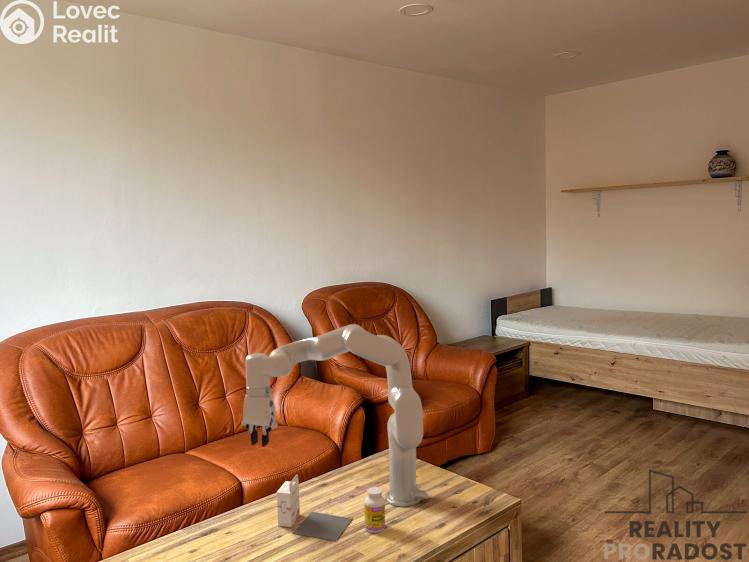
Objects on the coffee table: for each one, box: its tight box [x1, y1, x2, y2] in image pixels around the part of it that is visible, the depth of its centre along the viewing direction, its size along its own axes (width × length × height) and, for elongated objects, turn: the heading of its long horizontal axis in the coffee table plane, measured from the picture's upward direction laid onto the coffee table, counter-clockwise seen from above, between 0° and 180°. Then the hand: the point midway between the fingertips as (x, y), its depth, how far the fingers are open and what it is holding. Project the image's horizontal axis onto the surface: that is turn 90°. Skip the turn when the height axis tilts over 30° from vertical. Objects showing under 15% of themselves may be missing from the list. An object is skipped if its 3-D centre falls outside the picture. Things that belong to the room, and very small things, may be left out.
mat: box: [292, 511, 353, 543], centre depth 187 cm, size 15×14×1 cm
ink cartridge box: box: [276, 474, 301, 528], centre depth 191 cm, size 9×5×15 cm, turn 168°
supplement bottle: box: [363, 486, 386, 534], centre depth 185 cm, size 7×7×13 cm
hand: (259, 443), depth 192 cm, fingers open, 3 cm apart
